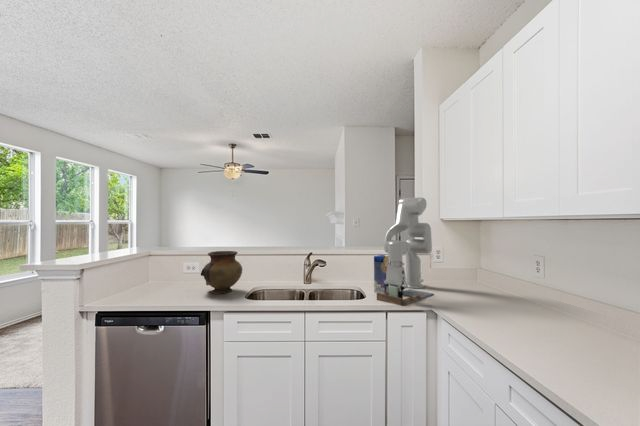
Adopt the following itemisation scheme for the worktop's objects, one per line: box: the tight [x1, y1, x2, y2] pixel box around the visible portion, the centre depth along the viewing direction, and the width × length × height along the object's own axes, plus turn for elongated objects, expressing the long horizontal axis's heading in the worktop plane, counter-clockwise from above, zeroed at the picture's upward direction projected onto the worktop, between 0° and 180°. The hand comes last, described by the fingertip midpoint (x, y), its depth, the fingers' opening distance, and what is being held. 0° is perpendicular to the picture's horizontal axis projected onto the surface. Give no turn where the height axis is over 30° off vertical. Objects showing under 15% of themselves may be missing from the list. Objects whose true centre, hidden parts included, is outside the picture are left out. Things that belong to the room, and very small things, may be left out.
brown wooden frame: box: [376, 291, 422, 306], centre depth 169 cm, size 19×16×4 cm
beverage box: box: [373, 254, 389, 294], centre depth 190 cm, size 7×11×22 cm, turn 150°
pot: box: [200, 250, 243, 295], centre depth 189 cm, size 25×24×25 cm
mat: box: [403, 288, 435, 300], centre depth 181 cm, size 14×16×1 cm
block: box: [388, 285, 404, 299], centre depth 167 cm, size 6×5×8 cm
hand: (395, 296), depth 167 cm, fingers open, 5 cm apart
